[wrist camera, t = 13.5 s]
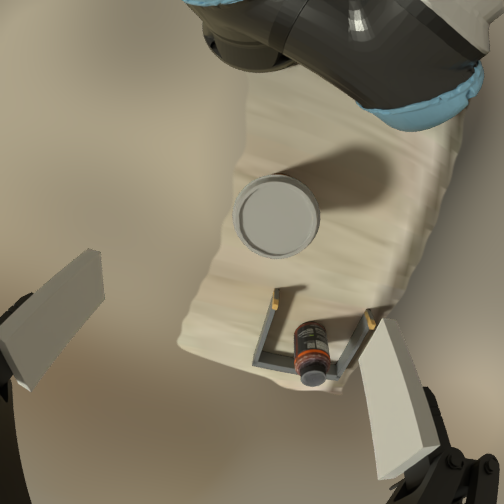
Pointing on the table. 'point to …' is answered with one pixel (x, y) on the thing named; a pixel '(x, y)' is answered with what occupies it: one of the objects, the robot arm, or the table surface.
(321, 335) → the supplement bottle
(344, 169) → the table surface
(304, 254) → the table surface
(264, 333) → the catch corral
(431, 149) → the table surface
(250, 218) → the disposable coffee cup
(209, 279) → the table surface
